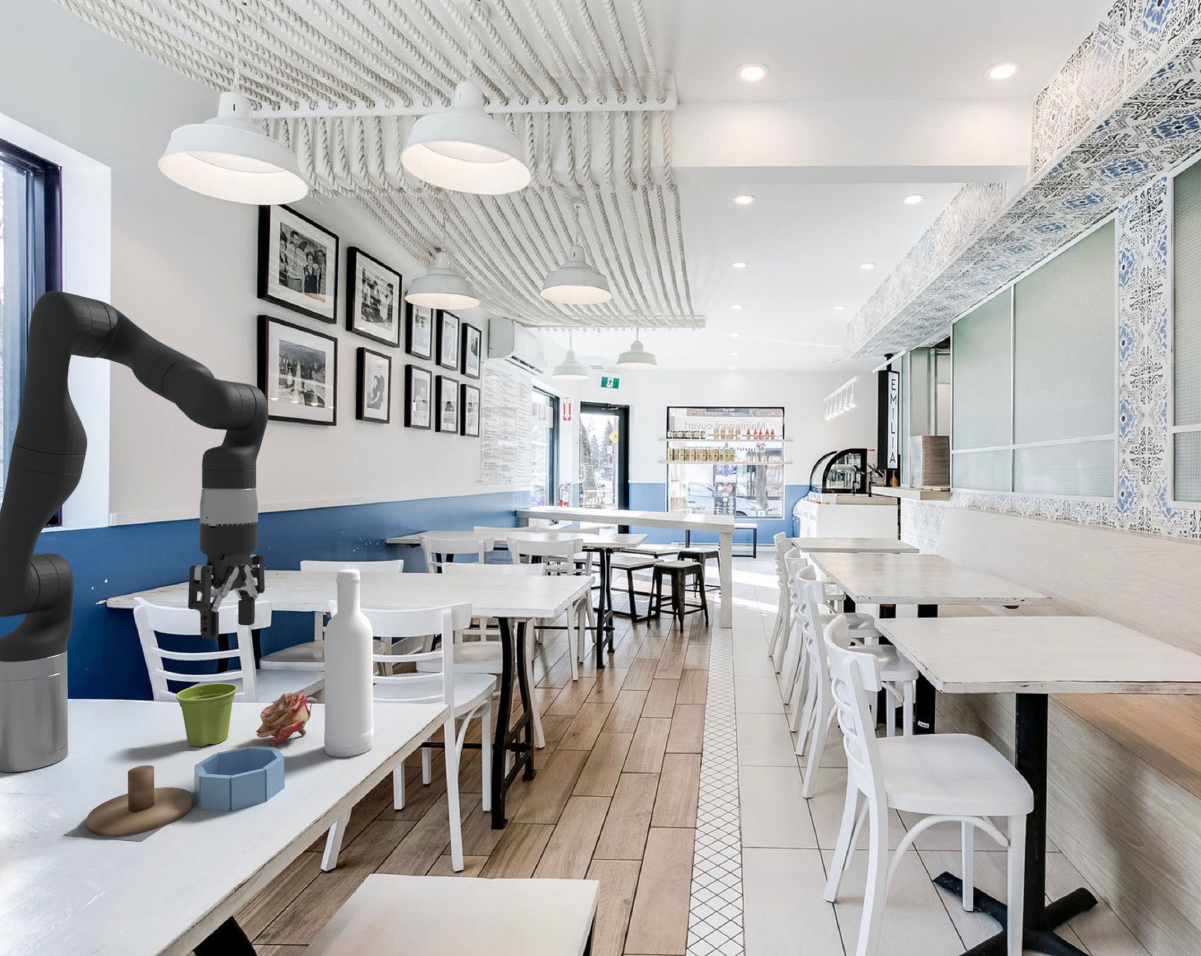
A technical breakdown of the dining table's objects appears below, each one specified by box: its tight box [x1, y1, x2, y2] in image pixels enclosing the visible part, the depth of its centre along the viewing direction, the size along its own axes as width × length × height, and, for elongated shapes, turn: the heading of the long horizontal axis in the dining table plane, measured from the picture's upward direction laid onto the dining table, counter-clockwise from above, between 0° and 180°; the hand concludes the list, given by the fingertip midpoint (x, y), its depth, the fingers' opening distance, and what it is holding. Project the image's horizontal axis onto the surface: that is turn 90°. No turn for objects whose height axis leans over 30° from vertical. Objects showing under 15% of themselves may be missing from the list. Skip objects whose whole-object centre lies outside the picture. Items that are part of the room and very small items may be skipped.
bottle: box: [323, 568, 375, 758], centre depth 123 cm, size 8×8×30 cm
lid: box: [86, 764, 193, 836], centre depth 98 cm, size 12×12×6 cm
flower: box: [255, 689, 313, 746], centre depth 127 cm, size 10×9×8 cm
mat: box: [63, 793, 198, 843], centre depth 98 cm, size 11×13×1 cm
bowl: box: [193, 745, 286, 812], centre depth 105 cm, size 11×11×5 cm
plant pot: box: [175, 682, 239, 748], centre depth 126 cm, size 9×9×9 cm
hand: (228, 631), depth 106 cm, fingers open, 8 cm apart
